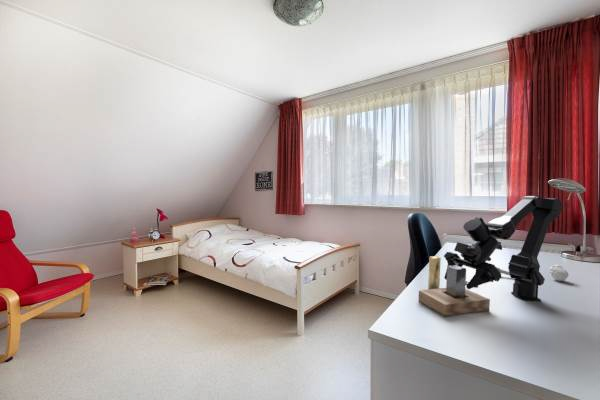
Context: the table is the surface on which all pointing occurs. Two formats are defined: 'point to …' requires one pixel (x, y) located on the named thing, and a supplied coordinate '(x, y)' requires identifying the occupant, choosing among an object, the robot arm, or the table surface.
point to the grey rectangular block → (456, 281)
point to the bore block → (453, 302)
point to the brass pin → (434, 272)
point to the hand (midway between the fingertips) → (455, 283)
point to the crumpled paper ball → (558, 272)
